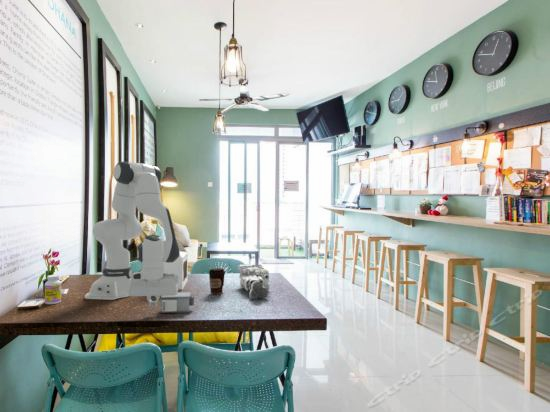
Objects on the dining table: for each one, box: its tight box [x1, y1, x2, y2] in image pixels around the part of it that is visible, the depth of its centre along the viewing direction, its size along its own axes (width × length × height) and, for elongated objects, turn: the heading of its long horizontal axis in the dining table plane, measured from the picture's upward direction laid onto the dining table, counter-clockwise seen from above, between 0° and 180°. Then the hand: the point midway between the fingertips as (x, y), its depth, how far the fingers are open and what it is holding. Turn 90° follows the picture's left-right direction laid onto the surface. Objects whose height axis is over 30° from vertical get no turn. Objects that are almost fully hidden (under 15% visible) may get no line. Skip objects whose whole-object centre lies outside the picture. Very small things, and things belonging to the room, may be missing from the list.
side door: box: [162, 299, 177, 312], centre depth 155 cm, size 6×2×5 cm, turn 96°
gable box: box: [163, 235, 189, 291], centre depth 207 cm, size 22×13×28 cm, turn 6°
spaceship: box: [237, 263, 270, 301], centre depth 194 cm, size 16×35×12 cm, turn 15°
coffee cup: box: [208, 267, 226, 295], centre depth 190 cm, size 9×8×13 cm
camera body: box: [159, 291, 195, 314], centre depth 160 cm, size 14×8×7 cm, turn 95°
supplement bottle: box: [44, 274, 62, 305], centre depth 170 cm, size 7×7×13 cm
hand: (153, 305), depth 154 cm, fingers closed
